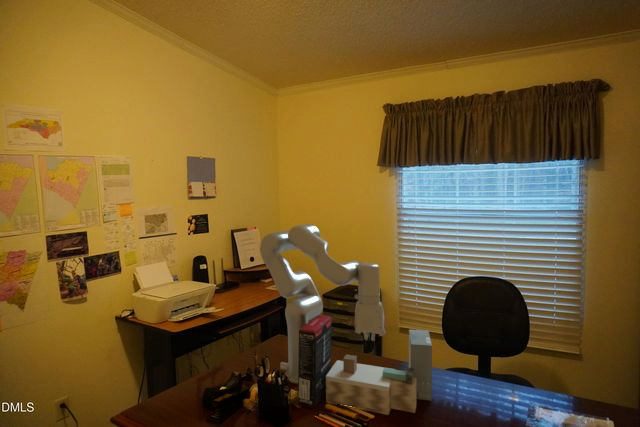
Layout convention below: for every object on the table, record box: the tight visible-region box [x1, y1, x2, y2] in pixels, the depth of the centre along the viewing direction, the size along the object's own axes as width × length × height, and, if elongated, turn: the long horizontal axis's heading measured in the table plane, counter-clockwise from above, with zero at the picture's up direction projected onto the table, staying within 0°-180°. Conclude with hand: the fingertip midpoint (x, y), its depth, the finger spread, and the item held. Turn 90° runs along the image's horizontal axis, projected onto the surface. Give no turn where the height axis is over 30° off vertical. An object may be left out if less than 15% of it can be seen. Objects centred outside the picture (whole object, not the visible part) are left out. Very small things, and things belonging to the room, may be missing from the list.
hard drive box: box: [408, 329, 433, 401], centre depth 135 cm, size 16×8×20 cm, turn 168°
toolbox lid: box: [326, 353, 396, 391], centre depth 129 cm, size 22×13×6 cm, turn 69°
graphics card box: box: [297, 314, 332, 409], centre depth 132 cm, size 17×7×27 cm, turn 159°
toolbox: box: [325, 367, 417, 416], centre depth 128 cm, size 30×13×13 cm, turn 69°
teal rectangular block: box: [383, 367, 413, 381], centre depth 125 cm, size 10×3×2 cm, turn 69°
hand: (370, 350), depth 128 cm, fingers closed
